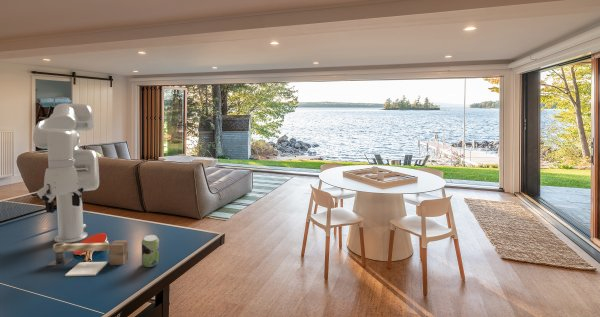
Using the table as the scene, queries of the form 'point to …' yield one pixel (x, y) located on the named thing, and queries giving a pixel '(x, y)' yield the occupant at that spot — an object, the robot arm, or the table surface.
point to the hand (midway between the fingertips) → (63, 208)
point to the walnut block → (118, 252)
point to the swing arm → (77, 248)
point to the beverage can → (150, 250)
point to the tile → (86, 269)
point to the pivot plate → (60, 262)
